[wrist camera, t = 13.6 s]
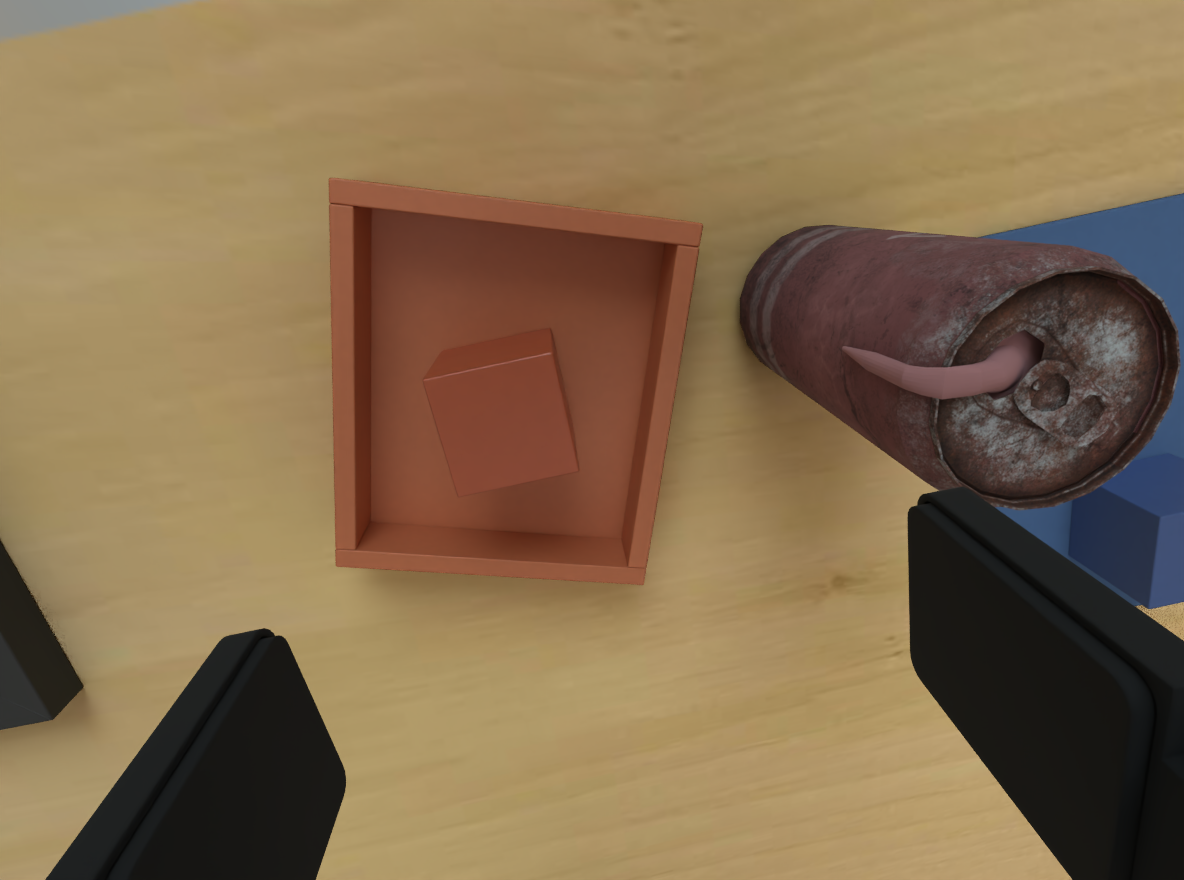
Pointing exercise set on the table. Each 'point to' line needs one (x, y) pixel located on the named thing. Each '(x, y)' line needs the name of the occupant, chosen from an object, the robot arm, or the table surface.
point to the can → (970, 354)
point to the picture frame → (29, 657)
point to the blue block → (1135, 530)
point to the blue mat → (1166, 265)
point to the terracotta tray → (486, 312)
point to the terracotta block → (502, 412)
